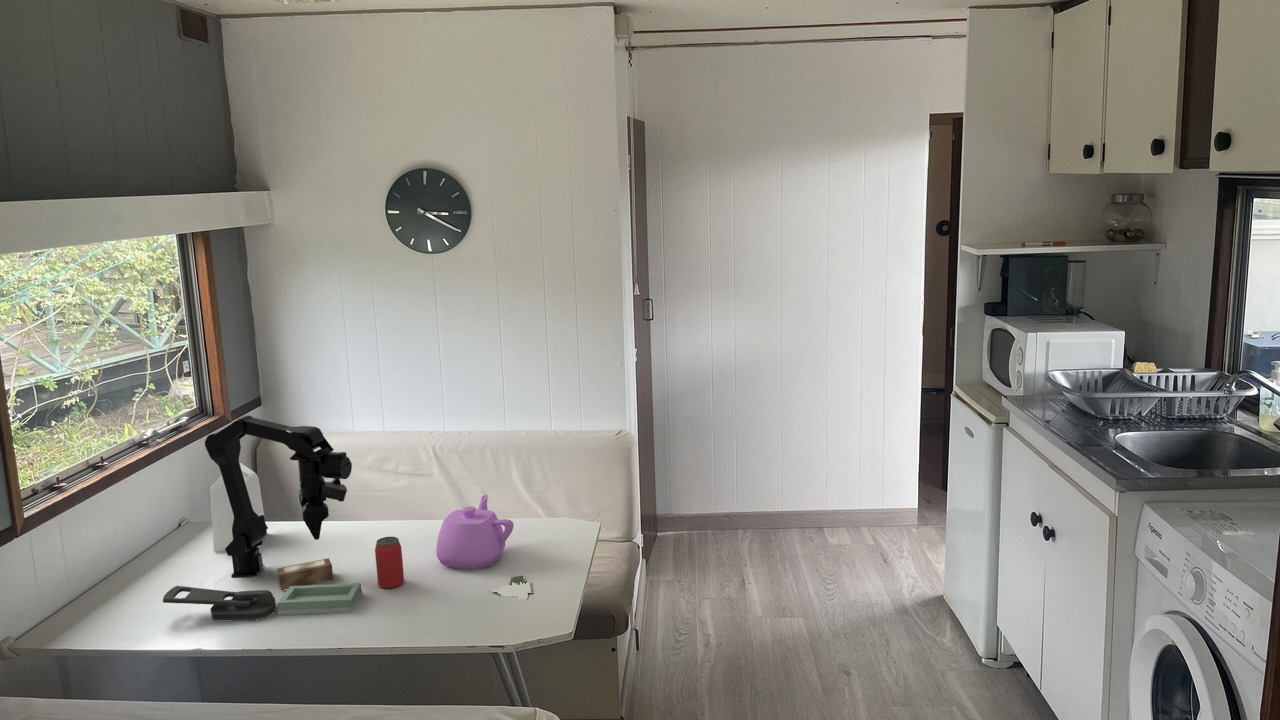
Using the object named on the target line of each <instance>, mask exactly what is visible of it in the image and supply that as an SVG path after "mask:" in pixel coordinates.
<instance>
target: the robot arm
mask: <svg viewBox="0 0 1280 720" xmlns="http://www.w3.org/2000/svg"><path fill="white" fill-rule="evenodd" d="M247 435H248V436H251V437H255V438H260V439H264V440H267V441H272V442H277V443H280V444H283V445H285V446H286V447H287V448H288V449H289V450H291V451H294V454H292V455H291V456H290V457H289V460H290V461H297V463H298V465H297V466H298V476H299V478H298V480H299V481H298V482H299V487H300V488H299V490H298V500H299V504H300V506H301V515H302V520H303V522H304V523H305V525H306V527H307V529H308V530H309V532H310V534H311V536H312V537H313V539H314V540H315V541H317V540H319V539H320V536H321V530H322V524H323V521H325V519H327V518H329V516H330V514H329V513H330V512H329V508H328V504H326V502H327V499H330V500H334V501H335V500H336V501H338V502H341V503H342V502H344V501H345V498H346V494H347V491H348V488H347V486H346V485H345V484H342V483H341V480H347V479H349V477H350V475H351V473H352V468H353V466H352V465H353V463H352V461H351V458H350V457H348V456H347V452H346V451H340V452H336V451H334V448H333V447H332V446H331V444H330V443H329V442H328V440H327V439H326V438H325V436H324V434H323V432H322V430H321V429H320V428H319V427H318V426H312V425H311V426H308V425H300V426H299V425H298V426H289V425H285V424H281V423H277V422H273V421H268V420H265V419H261V418H256V417H253V416H252V415H244V416H241V417H239V418H236V419H235V420H234V421H233V422H232V423H230V424H229V425H228V426H226V427H224V428H222V429H220V430H218V431H216V432H213V433H210V434H209V435H207V437H206V438H205V440H204V447H205V449H206V452H207V454H208V456H209V458H210V459H211V460H212V461H213V462H214V463H215V464H216V465H217V466H218V467H219V471H220V474H221V475H222V478H223V481H224V485H225V488H226V491H227V495H228V498H229V501H230V505H231V508H232V512H233V515H234V521H233V526H232V535H233V540H232V542H231V543H230V544H229V545H228V546H227V547H226V548H225V550H226V551H225V552H226V554H227V556H228V557H231V560H232V561H231V562H232V569H233V573H231V575H230V576H231V577H232V578H233V577H234V578H235V577H238V578H239V577H240V578H241V577H255V575H256V576H257V575H258V574H259V573H260V571H262V569H263V568H264V566H265V565H264V564H263V556H262V555H263V554H262V553H261V552H260V547H261V546H262V545H263V543H264V540H265V538H266V536H267V535H268V532H267V531H268V529H269V527H268V525H267V524H266V517H265V515H264V516H263V515H261V516H258V515H257V514H256V513H255V512H254V511H253V508H252V504H251V501H250V498H249V494H248V491H247V487H246V484H245V481H244V477H243V474H242V470H241V467H240V464H239V462H240V460H239V459H240V456H241V455H240V454H241V450H242V447H241V439H242V438H244V437H245V436H247ZM316 449H318V450H316ZM315 450H316V451H315ZM221 475H220V476H221ZM325 478H326V479H331V481H325ZM258 572H259V573H258ZM257 573H258V574H257Z"/></svg>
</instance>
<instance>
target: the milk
mask: <svg viewBox="0 0 1280 720" xmlns="http://www.w3.org/2000/svg"><path fill="white" fill-rule="evenodd" d="M239 464H240V467H241V470H242V474H243V477H244V481H245V484H246V487H247V491H248V494H249V498H250V501H251V504H252V508H253V511H254V512H255V513H256V514H257V515H258V516H261V515H263V516H264V517H265V512H264V504H263V499H262V493H261V487H260V485H261V484H260V481H259V476H258V474H257V473H256V471H253V470H252V469H251V468H249V467H248V466H246V465H245V464H243V463H241V462H240V461H239ZM209 497H210V512H211V513H210V514H211V516H210V518H211V529H212V544H213V547H212V548H213V553H222V551H223V552H226V550H225V548H226V547H227V546H228V545H229V544H230V543H231V542H232V540H233V535H232V526H233V521H234V515H233V512H232V508H231V505H230V501H229V498H228V495H227V491H226V488H225V485H224V481H223V478H222V475H220V476H219V477H218V478H217V480H215V482H214V483H212V485H211V486H210V491H209Z"/></svg>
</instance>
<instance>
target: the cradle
mask: <svg viewBox="0 0 1280 720" xmlns="http://www.w3.org/2000/svg"><path fill="white" fill-rule="evenodd" d="M362 589H363V588H362V583H361V582H352V583H334V584H333V583H331V584H312V585H304V586H290V587H289V589H288V590H285V593H284V594H283V595H282V596H281V597H280V599H279V601H277V615H278V614H279V615H278V616H280V615H281V616H282V614H284V615H286V614H287V615H303V614H307V615H308V614H325V613H326V614H327V613H329V614H330V613H349V612H350V613H351V612H353V610H354V609H355V607H356V605H357V603H358V602H359V600H360V598H361V597H362V595H363V590H362Z"/></svg>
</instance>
